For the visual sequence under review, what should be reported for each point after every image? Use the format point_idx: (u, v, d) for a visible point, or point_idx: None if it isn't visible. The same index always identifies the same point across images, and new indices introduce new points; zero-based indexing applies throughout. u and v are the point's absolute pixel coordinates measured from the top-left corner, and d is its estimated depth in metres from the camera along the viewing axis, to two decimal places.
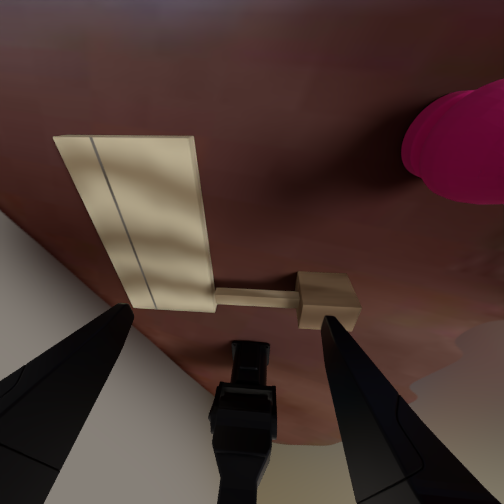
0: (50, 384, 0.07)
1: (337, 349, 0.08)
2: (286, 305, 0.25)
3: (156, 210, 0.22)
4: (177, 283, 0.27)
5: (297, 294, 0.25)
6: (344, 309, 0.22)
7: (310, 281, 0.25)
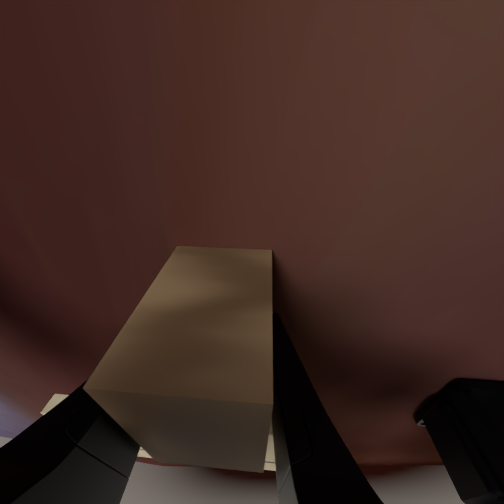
0: None
1: None
2: None
3: None
4: None
5: None
6: (125, 418, 0.05)
7: None
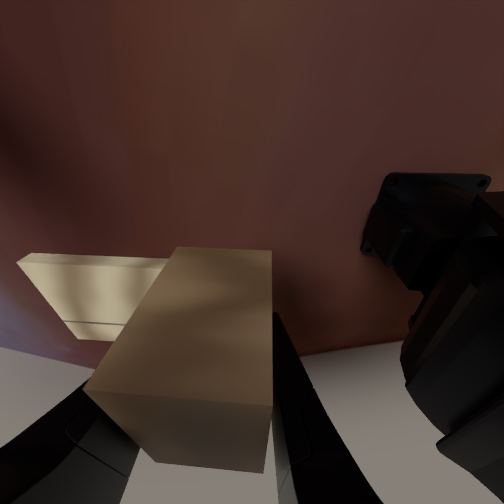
0: None
1: None
2: None
3: (104, 299, 0.22)
4: None
5: None
6: (125, 420, 0.05)
7: None
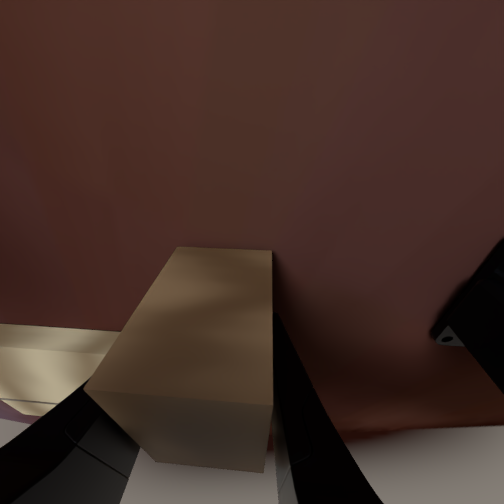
0: None
1: None
2: None
3: (44, 381, 0.15)
4: None
5: None
6: (125, 420, 0.05)
7: None
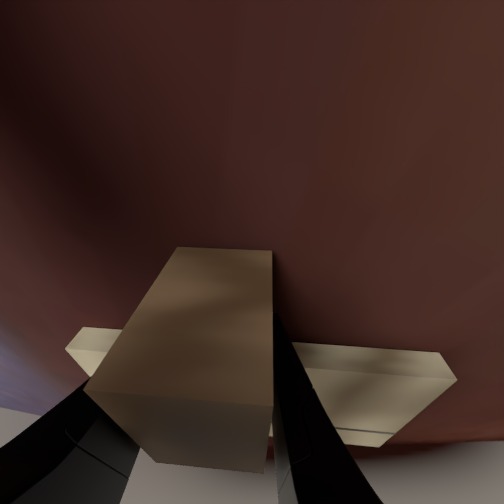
0: None
1: None
2: None
3: None
4: (336, 404, 0.14)
5: None
6: (126, 420, 0.05)
7: None
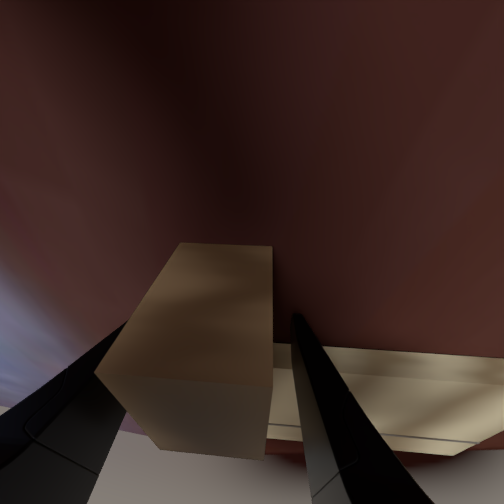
0: (92, 387, 0.07)
1: (298, 346, 0.08)
2: None
3: (271, 401, 0.14)
4: (430, 414, 0.14)
5: None
6: (132, 404, 0.06)
7: None
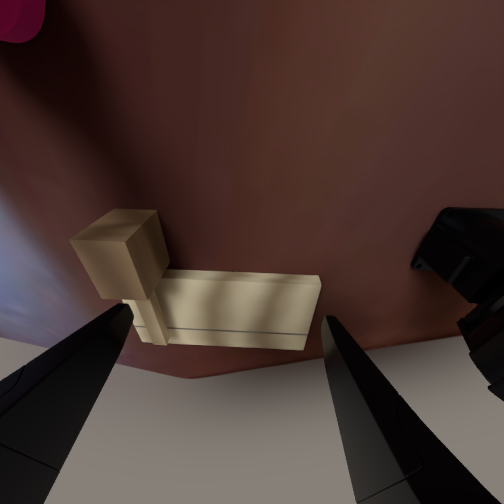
0: (50, 383, 0.07)
1: (337, 349, 0.08)
2: None
3: (179, 307, 0.25)
4: (267, 310, 0.24)
5: None
6: (84, 258, 0.16)
7: None
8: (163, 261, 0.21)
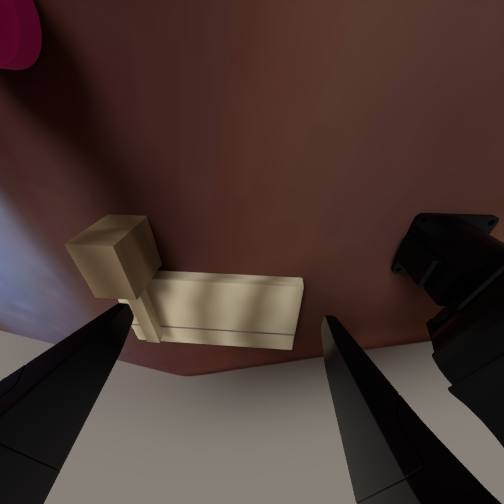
0: (50, 383, 0.07)
1: (337, 349, 0.08)
2: None
3: (171, 306, 0.26)
4: (254, 311, 0.25)
5: None
6: (78, 261, 0.17)
7: None
8: (154, 263, 0.23)
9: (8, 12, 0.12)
